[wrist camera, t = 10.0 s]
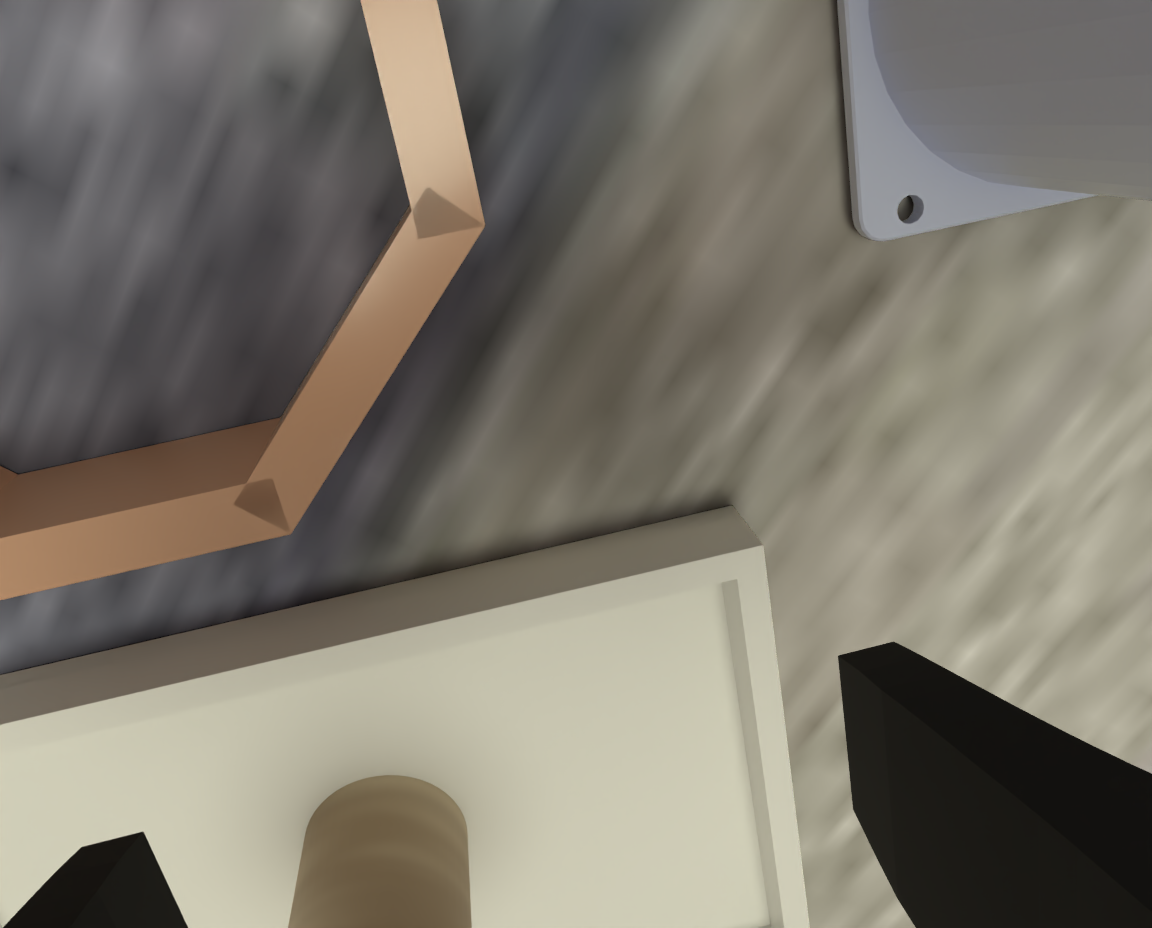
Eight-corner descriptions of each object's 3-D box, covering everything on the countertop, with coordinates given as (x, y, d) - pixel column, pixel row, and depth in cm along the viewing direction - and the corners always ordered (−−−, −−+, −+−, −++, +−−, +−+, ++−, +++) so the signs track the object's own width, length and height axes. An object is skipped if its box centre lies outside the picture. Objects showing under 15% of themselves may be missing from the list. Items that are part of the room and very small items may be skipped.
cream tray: (732, 505, 20) (762, 545, 18) (787, 916, 24) (816, 983, 22) (-130, 705, 18) (-194, 770, 17) (93, 1099, 23) (62, 1186, 21)
